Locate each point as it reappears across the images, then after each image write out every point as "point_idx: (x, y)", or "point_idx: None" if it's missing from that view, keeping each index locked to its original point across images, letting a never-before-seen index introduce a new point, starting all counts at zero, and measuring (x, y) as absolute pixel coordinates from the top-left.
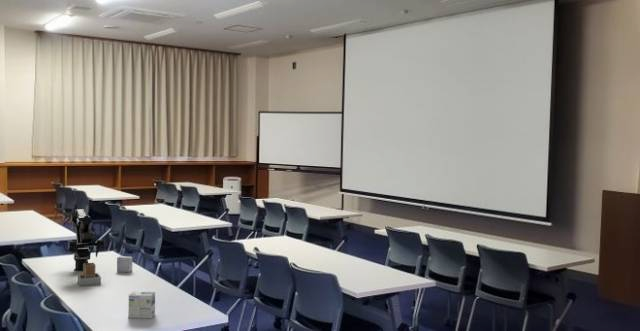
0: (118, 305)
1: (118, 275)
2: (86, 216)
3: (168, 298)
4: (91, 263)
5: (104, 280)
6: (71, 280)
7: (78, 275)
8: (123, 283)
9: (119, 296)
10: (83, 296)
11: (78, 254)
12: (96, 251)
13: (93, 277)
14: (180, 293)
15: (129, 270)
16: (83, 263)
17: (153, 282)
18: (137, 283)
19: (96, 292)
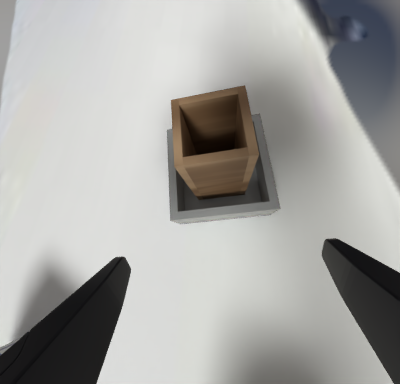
0: None
1: None
2: None
3: (54, 6)
4: (194, 157)
5: (155, 205)
6: (303, 250)
7: (273, 185)
8: (102, 144)
9: (145, 22)
10: (238, 26)
11: (380, 271)
12: (67, 319)
13: None
14: (17, 35)
15: (13, 341)
16: (257, 151)
17: (20, 138)
18: (64, 135)
19: (199, 58)
